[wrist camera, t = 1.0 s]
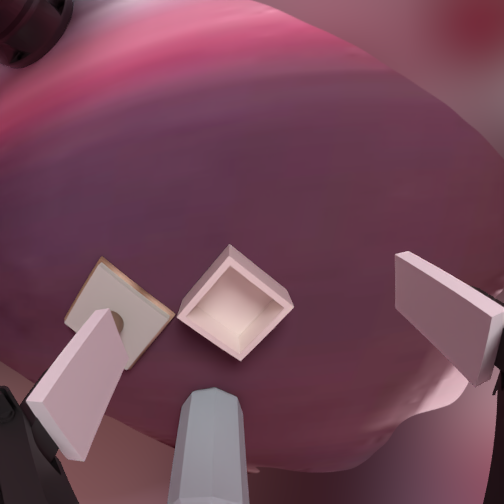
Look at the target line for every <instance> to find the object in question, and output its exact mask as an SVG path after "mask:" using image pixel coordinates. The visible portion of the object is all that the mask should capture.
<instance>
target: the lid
mask: <svg viewBox="0 0 504 504" xmlns="http://www.w3.org/2000/svg"><path fill="white" fill-rule="evenodd" d="M107 308H110V311H111V314H112V316H113V319H114V322H115V325H116V327H117V330H118V332H119V335H120V338H121V340H122V343H123V345H124V348H125V350H126V352H127V355H128V357H129V359H128V361H127V363H126V366H125V368H124V369H125V370H128V368H129V367H130V366H131V365H132V363H133V362H134V361H135V360H136V358H137V357H138V356H139V355H140V354H141V352H142V351H143V350H144V349H145V347H146V346H147V345H148V344H149V343H150V341H151V340H152V339H153V338H154V336H155V335H156V334H157V333H158V332H159V330H160V329H161V328H162V327H163V326H164V324H165V323H166V322H167V321H168V319H169V317H170V315H169V314H167V313H166V312H164V311H163V310H162V309H160V308H159V307H158V306H156V305H155V304H154V303H152V302H151V301H150V300H148V299H147V298H146V297H145V296H143V295H142V294H141V293H139V292H138V291H137V290H136V289H134V288H133V287H132V286H130V285H129V284H128V283H127V282H125V281H124V280H123V279H122V278H120V277H119V276H118V275H117V274H116V273H114V272H113V271H112V270H111V269H109V268H108V267H107V266H106V265H105V264H103V263H102V262H101V263H100V264H99V265H98V266H97V268H96V270H95V271H94V273H93V274H92V276H91V278H90V279H89V281H88V283H87V284H86V286H85V288H84V289H83V291H82V293H81V294H80V296H79V298H78V299H77V301H76V303H75V305H74V306H73V308H72V310H71V312H70V313H69V315H68V317H67V319H66V321H65V322H64V323H65V324H66V325H68V326H69V327H70V328H71V329H72V330H74V331H75V332H76V333H77V332H78V331H79V330H80V328H81V327H82V326H83V325H84V324H85V322H86V321H87V320H88V319H89V318H90V316H91V315H92V314H93V313H94V312H95V310H100V309H107Z"/></svg>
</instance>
